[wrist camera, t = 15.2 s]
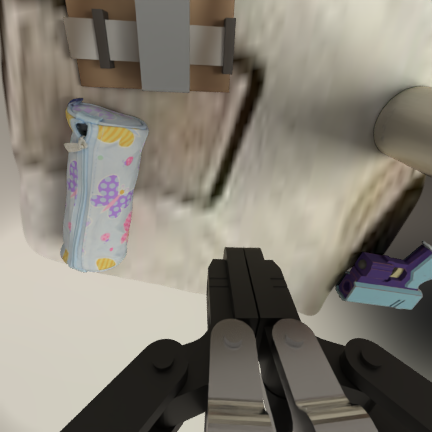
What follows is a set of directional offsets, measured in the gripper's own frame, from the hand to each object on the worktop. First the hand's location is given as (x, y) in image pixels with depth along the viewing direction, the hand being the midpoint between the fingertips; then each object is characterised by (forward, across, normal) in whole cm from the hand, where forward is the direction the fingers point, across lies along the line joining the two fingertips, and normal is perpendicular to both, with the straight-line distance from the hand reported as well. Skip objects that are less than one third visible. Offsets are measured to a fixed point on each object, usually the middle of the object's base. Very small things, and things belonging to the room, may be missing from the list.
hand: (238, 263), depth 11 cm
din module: (+26, +5, -8) cm, 28 cm away
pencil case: (+27, +14, +8) cm, 31 cm away
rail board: (+27, +7, -9) cm, 29 cm away
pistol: (+28, -35, +24) cm, 51 cm away
